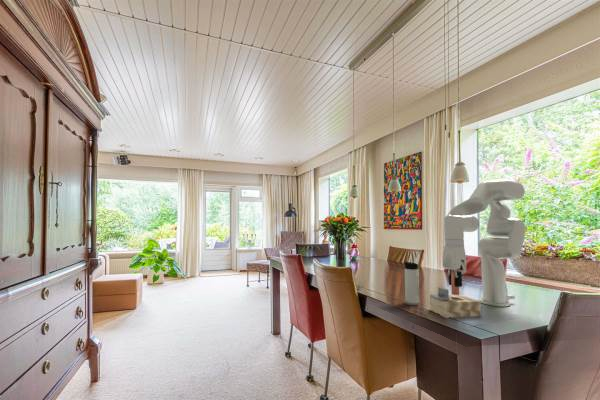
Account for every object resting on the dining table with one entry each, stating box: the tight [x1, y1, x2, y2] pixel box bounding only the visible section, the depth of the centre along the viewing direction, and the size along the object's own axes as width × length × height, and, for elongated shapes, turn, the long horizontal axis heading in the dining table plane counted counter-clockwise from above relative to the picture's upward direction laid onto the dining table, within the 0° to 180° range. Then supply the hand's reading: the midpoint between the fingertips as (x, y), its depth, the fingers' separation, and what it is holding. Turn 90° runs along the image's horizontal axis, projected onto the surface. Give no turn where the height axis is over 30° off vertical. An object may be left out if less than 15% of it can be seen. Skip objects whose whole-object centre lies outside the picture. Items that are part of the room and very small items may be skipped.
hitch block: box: [429, 294, 482, 319], centre depth 128 cm, size 16×11×6 cm
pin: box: [450, 269, 460, 295], centre depth 129 cm, size 5×5×12 cm
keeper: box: [429, 287, 450, 301], centre depth 128 cm, size 5×6×4 cm
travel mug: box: [403, 261, 420, 306], centre depth 143 cm, size 6×7×20 cm
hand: (455, 285), depth 129 cm, fingers closed on pin, 3 cm apart
